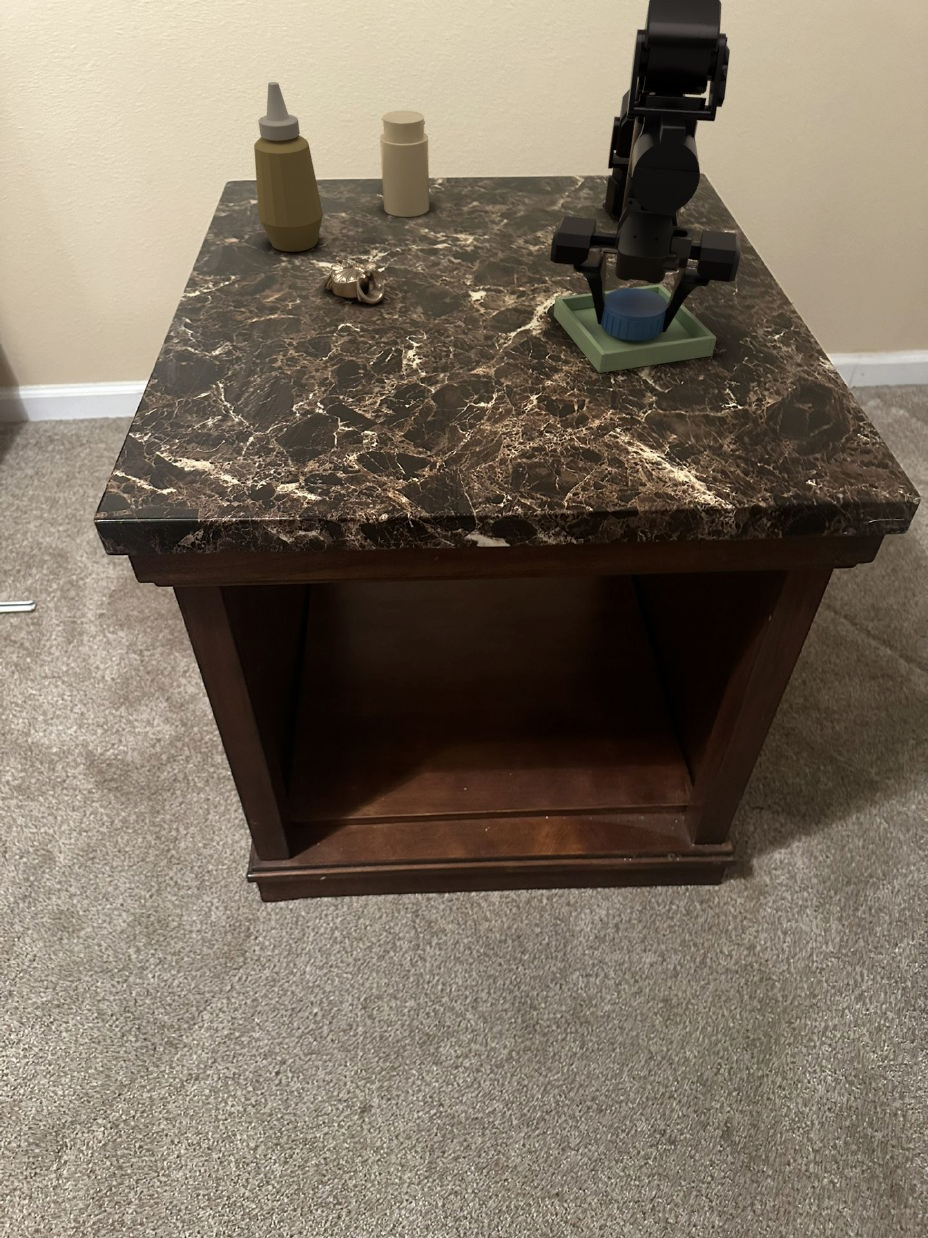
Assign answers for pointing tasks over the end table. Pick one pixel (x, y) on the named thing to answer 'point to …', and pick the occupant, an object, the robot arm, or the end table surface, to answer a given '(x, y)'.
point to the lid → (634, 314)
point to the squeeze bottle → (286, 179)
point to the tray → (617, 354)
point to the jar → (405, 164)
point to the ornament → (355, 281)
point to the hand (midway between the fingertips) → (631, 326)
